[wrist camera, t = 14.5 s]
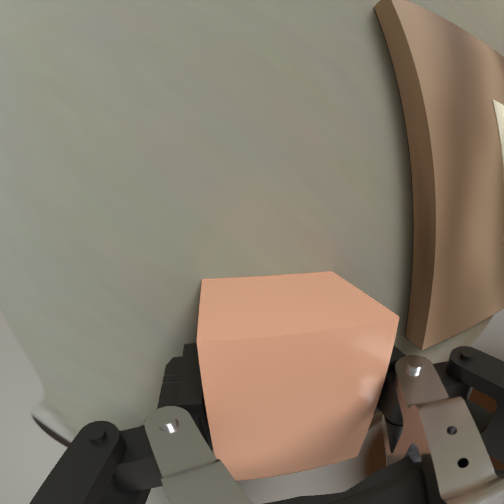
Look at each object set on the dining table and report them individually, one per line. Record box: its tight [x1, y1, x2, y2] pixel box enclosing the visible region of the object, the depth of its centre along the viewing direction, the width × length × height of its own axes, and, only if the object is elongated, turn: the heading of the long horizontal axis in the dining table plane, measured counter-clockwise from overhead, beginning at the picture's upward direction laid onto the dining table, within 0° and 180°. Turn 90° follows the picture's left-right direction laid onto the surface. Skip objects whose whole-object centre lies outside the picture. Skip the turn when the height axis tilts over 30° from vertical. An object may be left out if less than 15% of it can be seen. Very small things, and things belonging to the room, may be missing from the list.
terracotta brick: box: [197, 271, 399, 481], centre depth 9 cm, size 5×6×4 cm
